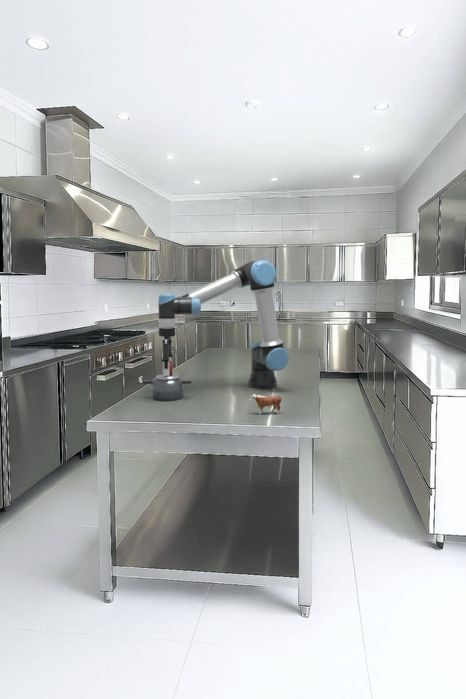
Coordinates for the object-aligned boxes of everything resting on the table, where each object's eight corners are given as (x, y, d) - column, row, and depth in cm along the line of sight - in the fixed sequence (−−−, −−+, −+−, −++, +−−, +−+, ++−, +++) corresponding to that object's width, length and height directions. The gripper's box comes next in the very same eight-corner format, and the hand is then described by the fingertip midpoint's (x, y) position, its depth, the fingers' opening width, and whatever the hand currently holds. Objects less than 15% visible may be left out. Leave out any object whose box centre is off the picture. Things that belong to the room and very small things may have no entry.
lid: (180, 377, 262) (180, 360, 261) (178, 381, 251) (178, 363, 250) (157, 376, 262) (157, 360, 261) (154, 381, 252) (153, 363, 251)
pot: (191, 394, 265) (191, 376, 264) (190, 401, 252) (190, 381, 250) (145, 395, 265) (145, 376, 263) (142, 401, 251) (141, 381, 250)
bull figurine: (248, 412, 230) (248, 393, 229) (280, 411, 231) (280, 392, 230) (249, 415, 226) (250, 395, 225) (282, 414, 227) (282, 394, 226)
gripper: (161, 325, 266) (161, 369, 269) (156, 329, 241) (156, 377, 244) (176, 325, 266) (177, 369, 269) (173, 329, 242) (173, 377, 244)
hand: (167, 373), depth 257 cm, fingers open, 13 cm apart
